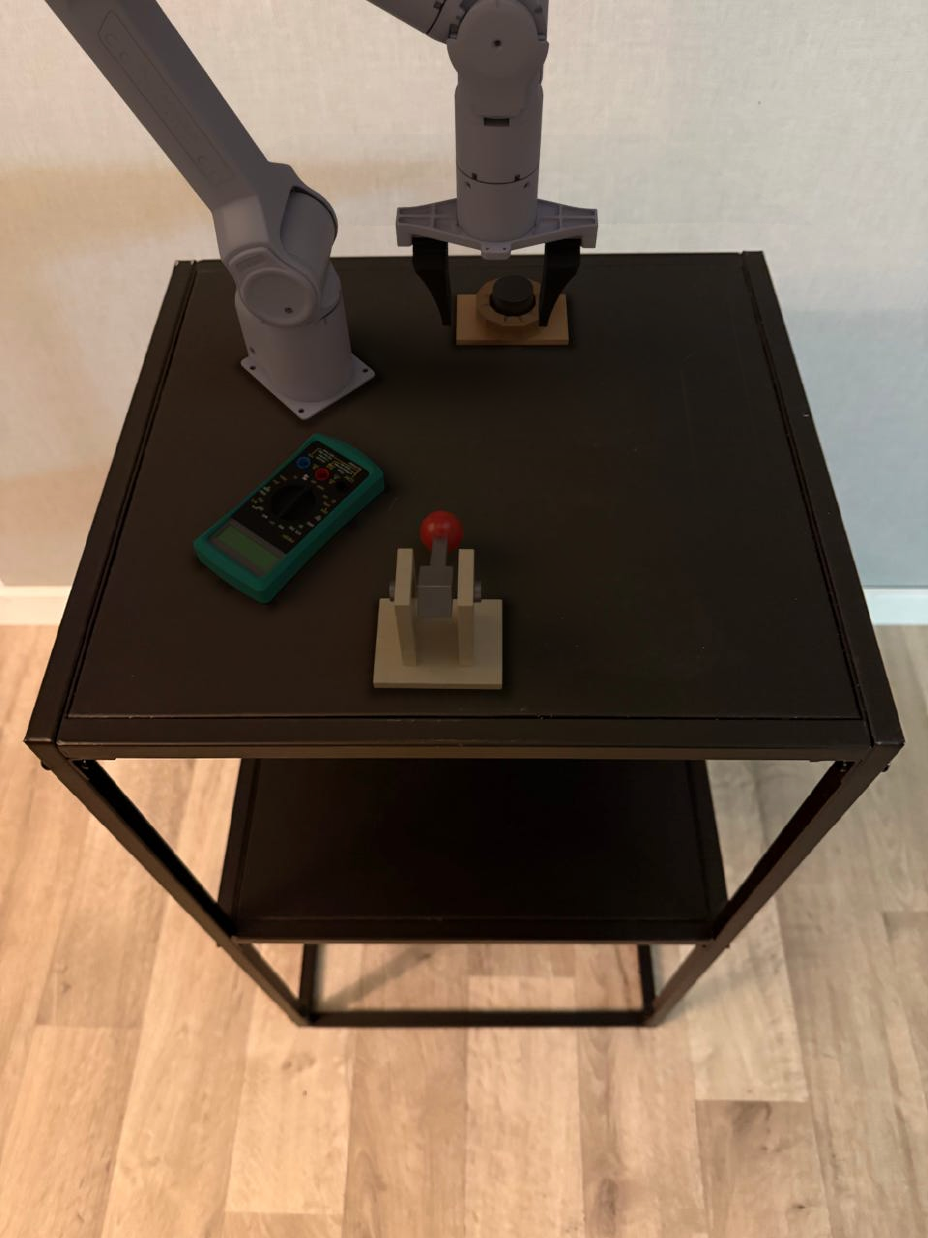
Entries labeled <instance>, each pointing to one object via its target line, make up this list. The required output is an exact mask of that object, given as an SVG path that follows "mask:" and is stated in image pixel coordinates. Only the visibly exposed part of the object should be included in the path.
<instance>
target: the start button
mask: <svg viewBox="0 0 928 1238" xmlns="http://www.w3.org/2000/svg"><path fill="white" fill-rule="evenodd" d="M498 278H499V279H497V278H496V279H497V280H496V281H495V283H494V285H493V292H492V304H493V307H494V309H495V310H496V311H497V312H498V313H499V314H501V315H504V316H507V317H518V316H522V315H524V314H526V313H527V312H529V311H530V309H531V308H532V305H533V289H534V288H533V285H532V283H531V281H530V280H531V279H530V278H527V277H526V276H523V275H520V274H506V275H503V276H500V277H498ZM529 279H530V280H529Z"/></svg>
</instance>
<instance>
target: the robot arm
mask: <svg viewBox="0 0 928 1238" xmlns="http://www.w3.org/2000/svg"><path fill="white" fill-rule="evenodd" d="M365 1H367V2H368V3H370V4H372V5H374V6H375V7H376V8H378V9H380V10H382V11H384V12H385V13H387V14H389V15H391V16H393V17H394V18H396V19H397V20H399V21H401V22H403V23H404V24H406V25H408V26H410V27H412V28H413V29H414V30H416V31H419V32H420V33H422V34H423V35H425V36H427V37H429V39H432V40H434V41H436V42H438V43H442V44H444V45H446V50H447V55H448V57H449V60H450V63H451V65H452V66H453V68H454V70H455V71H456V73H457V85H455V86H456V87H455V90H454V95H453V97H454V98H453V99H454V131H455V134H454V135H455V136H454V137H455V178H456V179H455V182H456V186H455V187H456V197H454V198H448V199H445V200H440V201H435V202H430V203H426V204H420V205H416V206H415V205H414V206H398V207H397V208H396V215H395V235H396V246H397V247H399V248H400V247H403V248H404V247H405V248H407V247H409V248H410V247H412V250H411V251H412V256H411V263H412V267H413V270H414V272H415V274H416V275H417V276H418V277H419V278H420V280H421V281H422V282H423V283H424V285H425V286H426V287H427V289H428V291H429V293H430V294H431V296H432V298H433V300H434V303H435V304H436V308H437V309H438V313H439V316H440V319H441V325H442V326H444V327H445V326H446V327H447V326H448V327H450V326H452V314H453V295H452V285H451V277H450V267H449V266H450V265H449V264H450V263H449V262H450V261H449V243H450V244H453V245H456V246H457V245H458V246H461V247H466V248H468V249H469V248H470V249H474V250H478V251H480V257H481V258H482V259H484V260H487V261H506V260H509V259H510V258H511V255H512V251H516V250H521V249H525V248H529V247H533V246H538V245H543V244H544V249H543V250H544V253H543V269H542V277H541V283H540V285H541V289H540V295H539V327H546V326H548V321H549V318H550V315H551V312H552V310H553V307H554V305H555V303H556V301H557V299H558V297H559V295H560V294H562V293H563V290H565V288H566V286H567V285H569V283H570V281H571V280H572V279H573V278H574V277H575V276H576V275H577V273H578V271H579V269H580V265H581V248H582V249H596V247H597V240H598V232H599V216H598V214H599V213H598V208H587V207H578V206H573V205H568V204H565V203H564V204H563V203H559V202H556V201H551V200H547V199H544V198H543V199H542V198H538V197H539V195H538V193H539V180H540V178H539V177H540V164H541V163H540V161H541V148H542V147H541V146H542V132H543V131H542V130H543V111H544V97H545V95H544V88H543V85H542V83H543V80H544V64H545V63H546V59H547V58H548V54H549V51H550V42H549V41H548V27H549V25H548V23H549V6H550V4H549V3H550V0H365ZM44 2H45V3H46V5H47V6H48V7H49V8H50V9H51V11H52V12H53V13H54V15H55V16H56V17H57V18H58V20H59V21H60V22H61V24H63V26H64V27H65V29H66V30H67V31H68V33H70V35H71V36H72V37H73V39H74V40H75V42H76V43H77V44H78V45H79V46H80V48H81V49H82V50H83V51H84V52H85V54H86V55H87V57H88V58H89V59H90V60H91V62H92V63H93V64H94V65H95V66H96V68H97V69H98V71H100V73H101V74H102V76H103V77H104V78H105V79H106V80H107V82H108V83H109V84H110V86H111V87H112V88H113V90H114V91H115V92H116V93H117V94H118V96H119V97H120V98H121V100H122V101H123V102H124V103H125V104H126V106H127V107H128V108H129V110H130V111H131V112H132V113H133V115H134V116H135V117H136V118H137V120H138V121H139V122H140V124H141V125H142V126H143V128H144V129H145V130H146V131H147V133H148V134H149V135H150V137H151V138H152V140H154V142H155V143H156V145H158V147H159V148H160V149H161V150H162V152H163V153H164V154H165V156H166V157H167V158H168V159H169V161H170V162H171V163H172V164H173V165H174V167H175V168H176V170H178V172H179V173H180V175H181V176H182V177H183V178H184V180H185V181H186V182H187V183H188V185H189V186H190V188H191V189H192V190H193V191H194V192H195V194H196V195H197V196H198V198H200V200H201V201H202V203H203V204H204V205H205V206H206V208H207V209H208V210H209V212H210V213H211V216H212V220H213V221H212V222H213V225H214V226H213V227H214V232H215V237H216V242H217V243H216V244H217V248H218V254H219V258H220V261H221V263H222V264H223V265H224V266H225V268H226V269H227V270H228V272H229V273H230V274H231V276H232V278H233V280H234V283H235V286H236V290H235V294H234V307H235V311H236V315H237V318H238V322H239V326H240V330H241V333H242V336H243V341H244V345H245V347H246V352H247V355H248V356H246V357H244V358H242V359H241V361H240V365H241V366H242V368H243V369H245V370H246V371H247V372H248V373H249V374H250V375H251V376H252V377H253V378H255V380H256V381H258V382H259V383H260V384H261V385H262V386H264V387H265V388H266V389H267V390H268V391H269V392H270V393H271V394H272V395H274V397H276V398H277V399H278V400H279V401H280V402H281V403H283V404H284V405H285V406H286V407H287V408H288V409H289V410H290V411H291V412H292V413H293V414H295V415H296V416H297V417H298V418H299V419H300V420H302V421H307V420H309V419H311V418H313V417H314V416H316V415H317V414H319V413H320V412H322V411H323V410H326V409H327V408H328V407H330V406H331V405H333V404H334V403H336V402H337V401H339V400H341V399H342V398H344V397H346V396H347V395H349V394H350V393H352V392H353V391H355V390H356V389H359V388H360V387H361V386H362V385H364V384H366V383H368V381H371V380H372V379H374V378H375V376H376V374H375V373H376V372H375V371H374V370H373V369H372V368H371V367H369V366H368V365H367V364H366V363H365V362H364V361H362V360H361V359H360V358H359V357H357V356H356V355H355V354H354V353H352V349H351V348H352V347H351V341H350V333H349V328H348V322H347V321H348V320H347V315H346V314H347V313H346V308H345V303H344V302H345V300H344V295H343V289H342V282H341V279H340V276H339V274H338V273H337V271H336V269H335V268H334V265H333V263H332V260H331V254H332V249H333V246H334V243H335V242H336V239H337V237H338V233H339V222H338V221H339V220H338V216H337V214H336V211H335V210H334V207H333V206H332V205H331V203H330V202H329V201H328V199H326V197H324V195H322V194H321V193H319V192H318V191H316V190H314V189H313V188H311V187H309V186H308V185H307V184H306V183H305V182H303V180H302V179H301V178H300V177H299V175H298V174H297V172H295V170H294V168H293V167H292V165H290V164H288V163H283V162H275V161H269V160H268V159H267V158H266V156H265V154H264V153H263V151H262V150H261V149H260V146H258V145H257V142H255V139H253V137H252V136H251V135H250V133H249V131H248V130H247V129H246V127H245V126H244V124H243V123H242V121H241V120H240V119H239V117H238V115H237V114H236V113H235V111H234V110H233V108H232V107H231V106H230V104H229V103H228V101H227V99H225V97H224V95H223V94H222V93H221V91H220V90H219V88H218V87H217V86H216V84H215V83H214V82H213V80H212V79H211V77H210V75H209V73H207V71H206V70H205V68H204V67H203V65H202V64H201V62H200V61H199V60H198V58H197V57H196V56H195V54H194V52H193V51H192V50H191V48H190V47H189V46H188V44H187V42H186V41H185V40H184V37H182V35H181V34H180V33H179V31H178V30H177V28H176V27H175V25H174V24H173V22H172V21H171V20H170V18H169V16H168V15H167V13H166V12H165V11H164V10H163V8H162V7H161V5H160V4H159V2H158V1H157V0H44ZM252 368H253V369H252ZM300 411H303V412H300Z"/></svg>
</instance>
